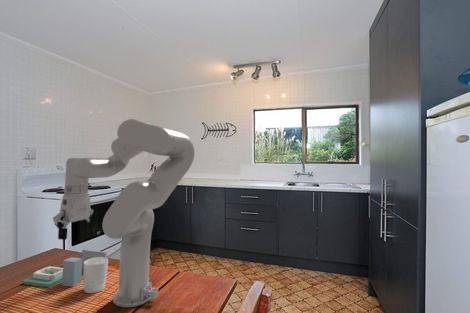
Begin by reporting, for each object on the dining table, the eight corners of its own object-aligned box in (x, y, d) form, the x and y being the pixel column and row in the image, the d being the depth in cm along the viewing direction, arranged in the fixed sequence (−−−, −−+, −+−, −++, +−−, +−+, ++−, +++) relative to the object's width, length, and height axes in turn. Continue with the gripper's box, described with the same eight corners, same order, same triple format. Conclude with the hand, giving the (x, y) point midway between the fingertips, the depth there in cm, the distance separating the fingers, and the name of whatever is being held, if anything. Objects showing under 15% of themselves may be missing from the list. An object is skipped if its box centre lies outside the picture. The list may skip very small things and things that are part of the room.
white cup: (79, 288, 90) (80, 260, 91) (102, 281, 96) (103, 255, 97) (86, 296, 85) (87, 266, 86) (110, 289, 91) (111, 261, 91)
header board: (76, 274, 102) (77, 266, 102) (49, 287, 91) (49, 279, 91) (52, 270, 105) (52, 263, 105) (22, 283, 93) (23, 275, 93)
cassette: (106, 269, 107) (107, 251, 108) (103, 271, 106) (104, 253, 106) (83, 266, 110) (84, 248, 111) (80, 268, 108) (81, 250, 109)
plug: (81, 282, 95) (82, 258, 96) (73, 286, 92) (74, 261, 92) (67, 280, 96) (69, 256, 97) (59, 284, 93) (60, 260, 93)
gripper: (64, 193, 86) (61, 243, 86) (101, 189, 103) (99, 231, 102) (47, 191, 88) (43, 241, 87) (85, 188, 105) (83, 229, 104)
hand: (73, 235), depth 95 cm, fingers open, 9 cm apart
